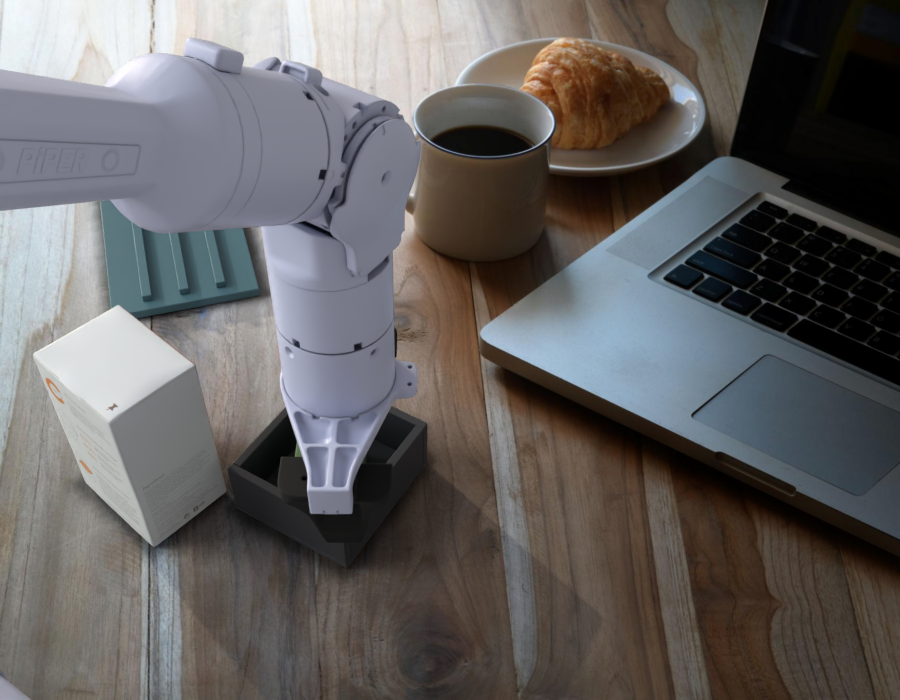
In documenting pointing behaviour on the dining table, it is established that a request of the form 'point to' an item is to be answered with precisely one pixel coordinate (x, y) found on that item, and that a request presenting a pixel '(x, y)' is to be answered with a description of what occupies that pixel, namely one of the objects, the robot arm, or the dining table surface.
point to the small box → (134, 421)
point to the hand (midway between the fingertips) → (348, 481)
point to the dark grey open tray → (261, 459)
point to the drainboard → (173, 266)
